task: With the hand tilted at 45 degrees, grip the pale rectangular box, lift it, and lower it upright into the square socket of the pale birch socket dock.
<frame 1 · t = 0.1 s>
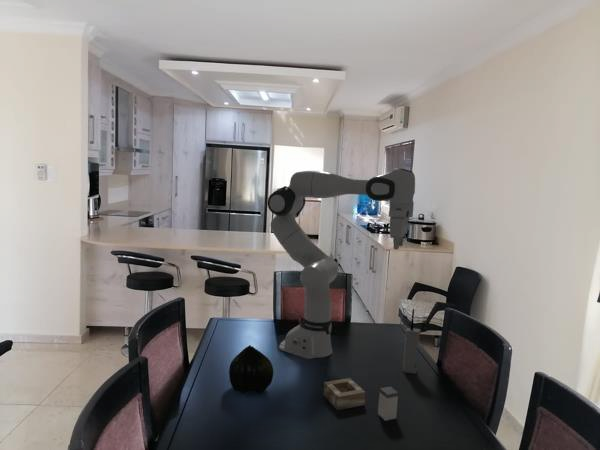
hand: (398, 247, 163), 48 cm above the table, tool pointing down, fingers open, 8 cm apart
vintage mobile phone: (409, 371, 166), on the table
squash: (249, 389, 146), on the table
pale rectangular box: (386, 416, 134), on the table
socket dock: (343, 399, 142), on the table
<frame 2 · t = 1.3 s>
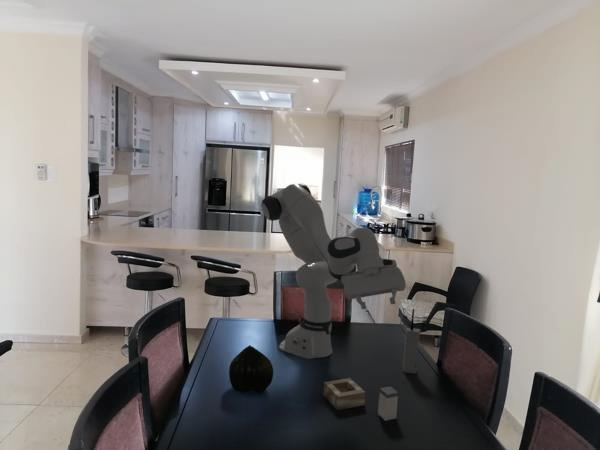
hand: (378, 305, 137), 33 cm above the table, tool tilted 45°, fingers open, 8 cm apart
nothing on the table moved.
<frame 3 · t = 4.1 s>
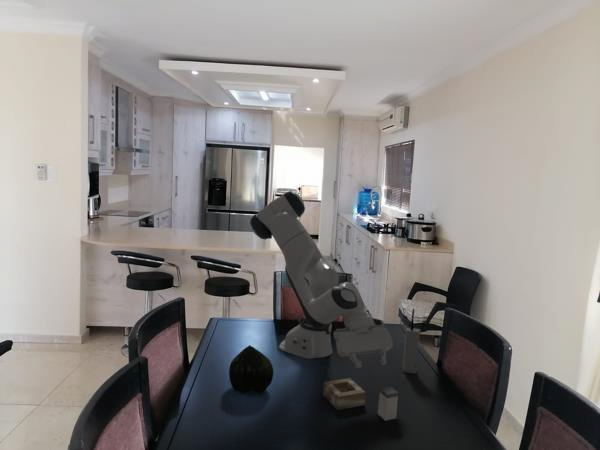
hand: (371, 365, 140), 13 cm above the table, tool tilted 45°, fingers open, 8 cm apart
nothing on the table moved.
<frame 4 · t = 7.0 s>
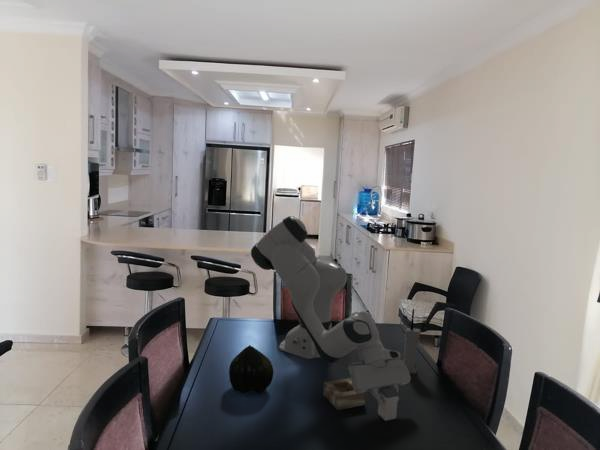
hand: (389, 402, 132), 5 cm above the table, tool tilted 45°, fingers closed on pale rectangular box, 4 cm apart
pale rectangular box: (386, 416, 134), on the table, touching gripper
everything else where it was.
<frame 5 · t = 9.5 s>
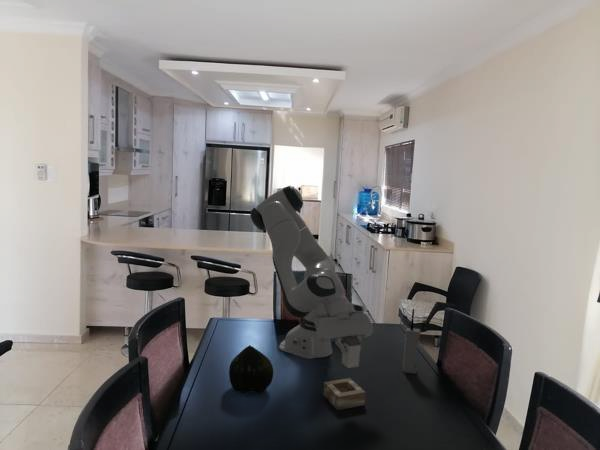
hand: (352, 351, 139), 17 cm above the table, tool tilted 45°, fingers closed on pale rectangular box, 4 cm apart
pale rectangular box: (350, 364, 140), point 12 cm above the table, touching gripper
everything else where it was.
when the fingers open (7 cm above the table, at t = 12.3 s): pale rectangular box drops 2 cm, resting on socket dock.
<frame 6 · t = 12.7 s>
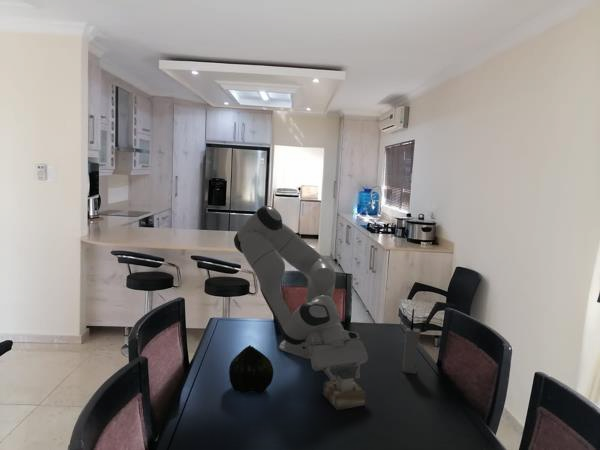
hand: (345, 379, 141), 7 cm above the table, tool tilted 45°, fingers open, 8 cm apart
pale rectangular box: (343, 396, 142), point 1 cm above the table, touching socket dock
everything else where it was.
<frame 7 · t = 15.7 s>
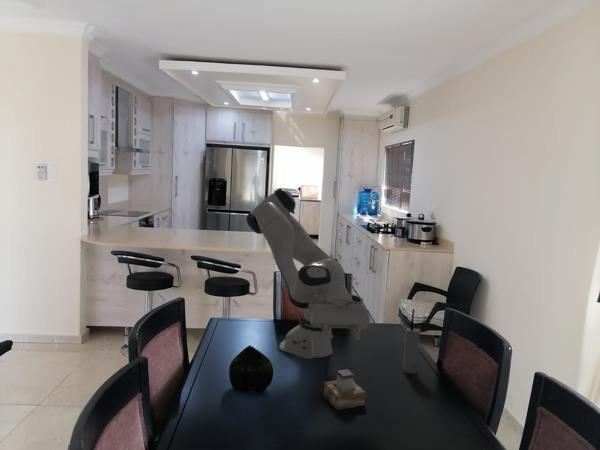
hand: (343, 339, 138), 22 cm above the table, tool tilted 50°, fingers open, 8 cm apart
nothing on the table moved.
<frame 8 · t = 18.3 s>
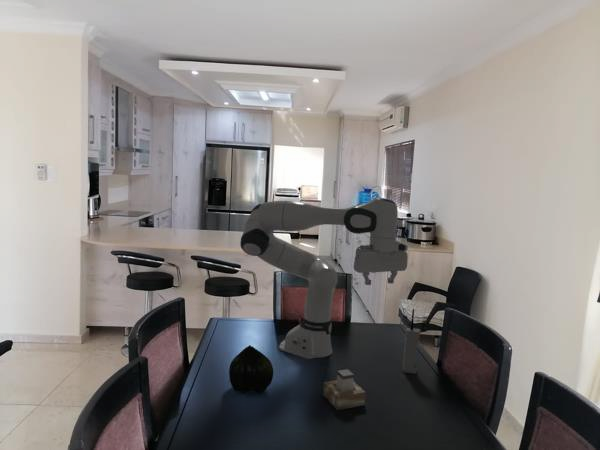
hand: (379, 283, 149), 37 cm above the table, tool pointing down, fingers open, 8 cm apart
nothing on the table moved.
at the end: pale rectangular box 0.0 cm off-centre on the socket dock, point 1.0 cm above the socket dock's base; pale rectangular box tilted 0°; the gripper is holding nothing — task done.
